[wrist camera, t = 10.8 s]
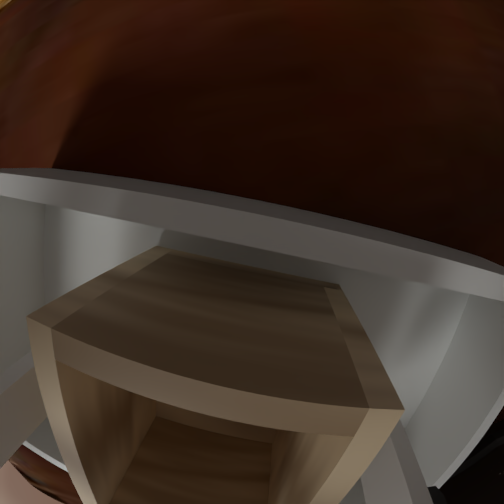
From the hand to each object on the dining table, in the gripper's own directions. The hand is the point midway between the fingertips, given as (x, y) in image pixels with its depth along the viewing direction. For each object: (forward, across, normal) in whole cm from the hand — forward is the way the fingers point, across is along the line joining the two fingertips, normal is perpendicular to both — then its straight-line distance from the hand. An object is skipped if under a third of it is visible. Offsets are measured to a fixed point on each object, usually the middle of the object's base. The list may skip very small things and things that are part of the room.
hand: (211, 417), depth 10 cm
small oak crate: (+4, 0, 0) cm, 4 cm away
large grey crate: (+5, 0, 0) cm, 5 cm away
